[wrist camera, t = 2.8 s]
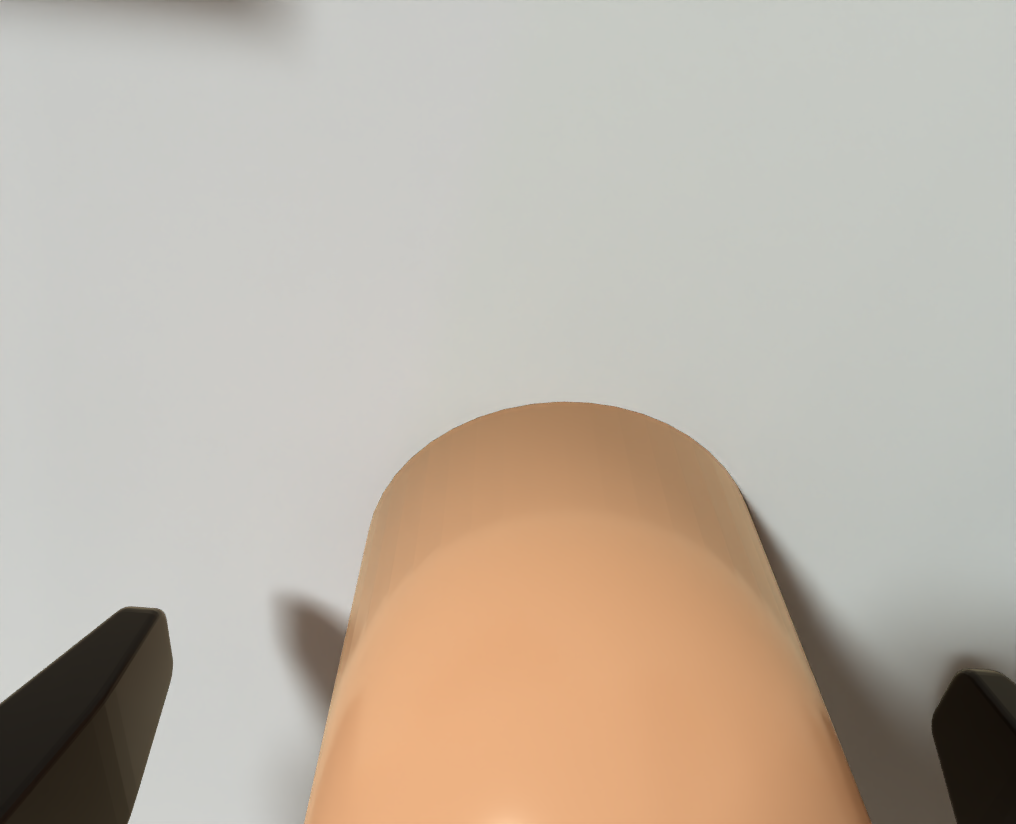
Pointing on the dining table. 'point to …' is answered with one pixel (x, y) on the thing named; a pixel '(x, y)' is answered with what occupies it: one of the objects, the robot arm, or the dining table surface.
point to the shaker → (573, 642)
